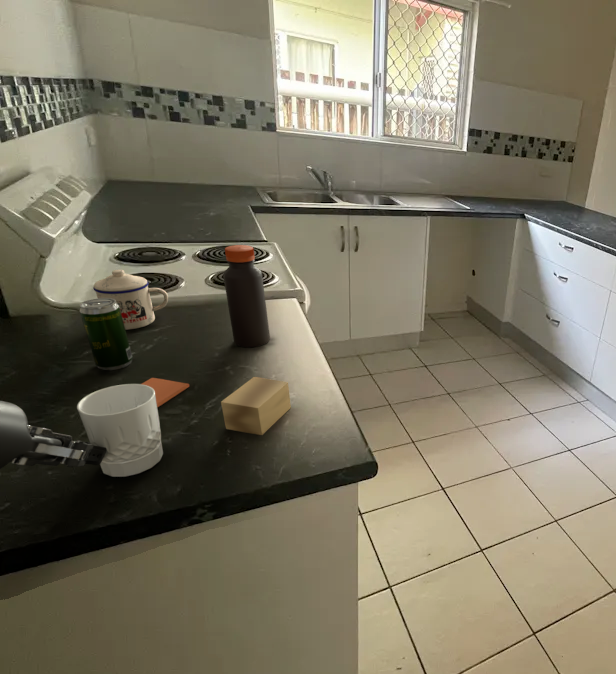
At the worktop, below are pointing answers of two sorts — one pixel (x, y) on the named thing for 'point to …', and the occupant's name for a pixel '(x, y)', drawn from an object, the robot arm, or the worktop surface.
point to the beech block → (256, 405)
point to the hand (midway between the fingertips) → (99, 455)
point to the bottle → (245, 297)
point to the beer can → (106, 333)
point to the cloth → (165, 389)
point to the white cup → (123, 427)
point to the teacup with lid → (130, 297)
